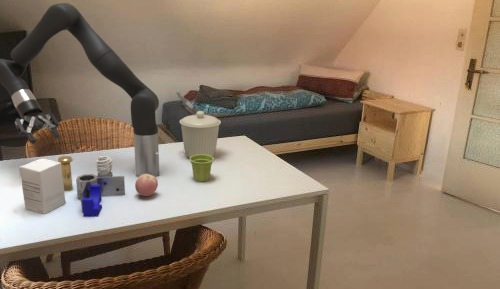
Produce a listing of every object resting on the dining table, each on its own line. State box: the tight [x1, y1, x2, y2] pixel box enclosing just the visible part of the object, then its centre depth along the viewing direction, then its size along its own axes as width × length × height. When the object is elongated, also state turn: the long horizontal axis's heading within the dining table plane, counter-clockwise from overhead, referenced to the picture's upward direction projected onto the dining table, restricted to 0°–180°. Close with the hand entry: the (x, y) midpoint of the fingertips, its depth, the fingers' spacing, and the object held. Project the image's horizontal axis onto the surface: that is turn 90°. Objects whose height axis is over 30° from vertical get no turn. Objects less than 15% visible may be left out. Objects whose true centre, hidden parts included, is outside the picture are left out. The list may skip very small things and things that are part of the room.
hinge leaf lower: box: [76, 181, 90, 214], centre depth 147 cm, size 7×16×7 cm, turn 12°
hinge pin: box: [57, 155, 74, 192], centre depth 155 cm, size 5×5×12 cm
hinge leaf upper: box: [75, 173, 126, 197], centre depth 152 cm, size 16×7×7 cm, turn 102°
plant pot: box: [189, 154, 215, 183], centre depth 169 cm, size 9×9×9 cm
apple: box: [134, 174, 159, 197], centre depth 153 cm, size 8×8×8 cm
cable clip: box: [81, 185, 103, 218], centre depth 143 cm, size 12×4×6 cm, turn 6°
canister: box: [179, 110, 222, 159], centre depth 192 cm, size 18×18×21 cm
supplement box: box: [19, 158, 66, 215], centre depth 141 cm, size 9×9×15 cm
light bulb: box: [95, 155, 113, 177], centre depth 159 cm, size 6×6×12 cm
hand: (46, 140), depth 158 cm, fingers open, 8 cm apart
